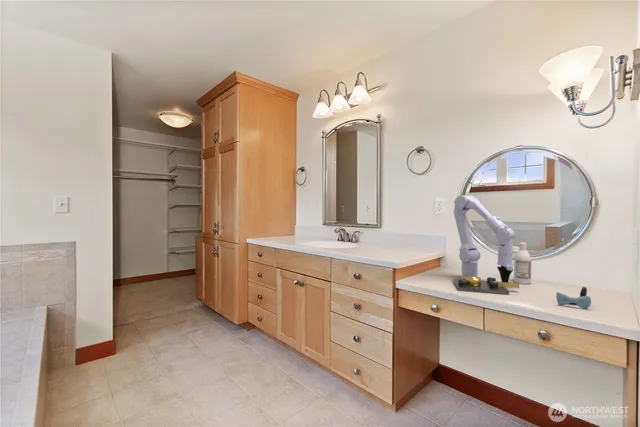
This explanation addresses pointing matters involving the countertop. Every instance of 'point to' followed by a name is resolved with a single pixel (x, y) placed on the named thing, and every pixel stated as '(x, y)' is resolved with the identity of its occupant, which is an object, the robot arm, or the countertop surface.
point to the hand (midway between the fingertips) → (504, 282)
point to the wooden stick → (503, 284)
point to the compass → (581, 294)
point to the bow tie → (573, 300)
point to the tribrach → (478, 285)
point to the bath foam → (522, 265)
